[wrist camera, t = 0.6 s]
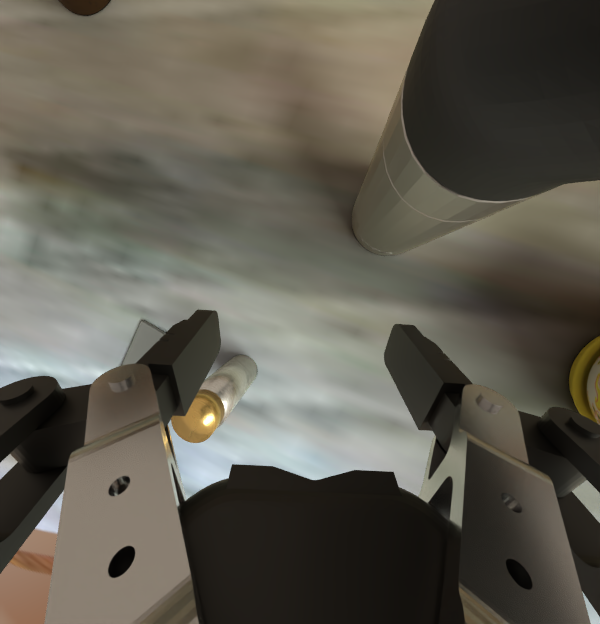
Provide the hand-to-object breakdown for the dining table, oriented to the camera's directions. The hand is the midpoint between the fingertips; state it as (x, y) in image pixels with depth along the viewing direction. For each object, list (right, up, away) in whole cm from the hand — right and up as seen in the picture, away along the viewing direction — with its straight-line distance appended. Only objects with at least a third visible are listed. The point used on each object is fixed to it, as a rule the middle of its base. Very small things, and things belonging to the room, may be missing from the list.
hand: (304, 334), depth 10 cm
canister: (-8, -7, +21) cm, 24 cm away
